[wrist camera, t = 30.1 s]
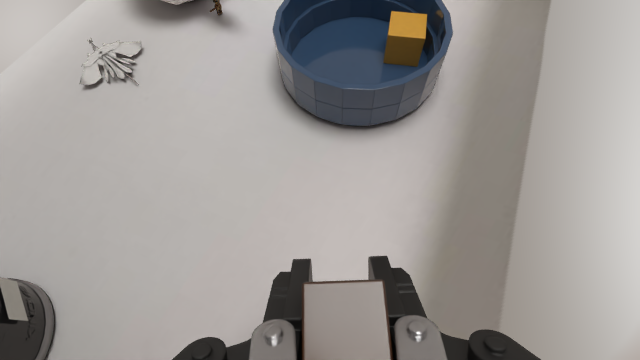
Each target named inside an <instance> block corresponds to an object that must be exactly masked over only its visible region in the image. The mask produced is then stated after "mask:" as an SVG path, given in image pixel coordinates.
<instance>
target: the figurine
mask: <svg viewBox="0 0 640 360" xmlns="http://www.w3.org/2000/svg"><path fill="white" fill-rule="evenodd" d="M162 1H165V2H168V3H171V4H175V5H178V4H182V3H185V2H189V1H193V0H162ZM213 2H214V3H215V8H213V9H212V10H210V12H212V11H214V10H215V9H216V10H217V14H218V15H219V13H220V15H221V14H222V10H221V8H222V7H221V4H220V3H219V0H213ZM218 10H219V11H218Z"/></svg>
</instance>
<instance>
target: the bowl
mask: <svg viewBox="0 0 640 360" xmlns="http://www.w3.org/2000/svg"><path fill="white" fill-rule="evenodd" d="M391 11H395V12H407V13H419V14H427V24H426V38H425V42H424V46H423V49H422V52H421V56H420V59H419V63H418V66H417V67H416V66H406V65H397V64H387V63H383V62H384V55H385V48H386V41H387V35H388V29H389V23H390V17H391ZM273 35H274V40H275V45H276V50H277V55H278V60H279V65H280V70H281V74H282V78H283V82H284V86H285V88H286V89H287V91H288V92H289V93H290V95H291V96H292V97H293V99H294V100H295V101H296V103H298V105H300V106H301V107H303V108H304V109H306V110H307V111H309V112H310V113H312V114H313V115H315V116H316V117H319V118H322V119H325V120H328V121H331V122H334V123H338V124H341V125H351V126H369V125H376V124H381V123H385V122H388V121H393V120H397V119H398V118H400V117H402V116H404V115H406V114H407V113H409V112H411V111H413V110H415V109H417V108H418V107H419V105H420V104H421V103H422V102H423V101H424V100H425V99H426V98H427V97H428V95H429V94H430V93H431V92H432V90H433V87H434V85H435V82H436V79H437V77H438V74H439V71H440V69H441V66H442V63H443V61H444V58H445V55H446V52H447V50H448V47H449V44H450V41H451V38H452V35H453V31H452V24H451V17H450V13H449V11H448V10H447V8H446V7H445V5H444V4H443V2H442V0H284V1H283V3H282V4H281V6H280V7H279V9H278V10H277V12H276V16H275V21H274V26H273Z"/></svg>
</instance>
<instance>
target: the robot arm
mask: <svg viewBox="0 0 640 360" xmlns="http://www.w3.org/2000/svg"><path fill="white" fill-rule="evenodd" d="M368 266H369V280H377V279H382V280H384V282H385V290H386V298H387V307H388V316H389V325H390V334H391V343H392V352H393V360H541V359H539V358H538V357H536V356H535V355H534V354H532V353H531V352H529V351H528V350H526V349H525V348H524V347H522V346H521V345H520V344H518V343H517V342H515V341H514V340H513V339H511V338H510V337H508V336H506V335H504V334H502V333H500V332H497V331H493V330H478V331H475V332H474V333H472V334H471V336H470V338H469V340H464V339H459V338H455V337H451V336H448V335H445V334H443V333H441V332H440V331H439V328H438V327H437V326H436V324H435V323H434V322H432V321H431V320H429V319H427V316H426V314H425V312H424V309H423V307H422V304H421V302H420V300H419V297H418V295H417V293H416V290H415V287H414V285H413V283H412V280H411V278H410V275H409V274H408V273H406V272H405V271H404V270H403V269H402V268H391V266H390V263H389V260H388V257H387V256H371V257H369V260H368ZM304 282H313V280H312V266H311V259H293V262H292V268H291V272H280V273H279V274H278V275H277V277H276V278H275V279H274V280H273V284H272V288H271V292H270V298H269V300H268V304H267V308H266V312H265V316H264V320H263V323H262V324H260V325H259V326H258V327H257V328H256V329H255V330H254V332H253V334H252V338H251V339H249V340H247V341H245V342H243V343H240V344H237V345H233V346H230V347H226V346H225V344H224V342H223V341H222V340H220V339H218V338H214V337H207V338H202V339H199V340H196V341H194V342H192V343H191V344H189V345H188V346H187V347H186V348H184V349H183V350H182V351H181V352H180V353H179V354H178V355H177V356H176V357H174V358H173V359H172V360H302V283H304ZM53 329H54V314H53V309H52V305H51V303H50V300H49V298H48V297H47V295H46V294H45V293H44V291H43V290H42V289H40V288H39V287H38V286H36V285H34V284H32V283H30V282H27V281H22V280H18V279H11V278H2V277H0V360H44V359H45V357H46V355H47V352H48V350H49V347H50V344H51V340H52V336H53Z"/></svg>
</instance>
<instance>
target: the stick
mask: <svg viewBox="0 0 640 360" xmlns="http://www.w3.org/2000/svg"><path fill="white" fill-rule="evenodd" d="M302 360H393V352H392V343H391V334H390V325H389V316H388V307H387V298H386V290H385V282H384V280H382V279H377V280H350V281H323V282H304V283H302Z"/></svg>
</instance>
